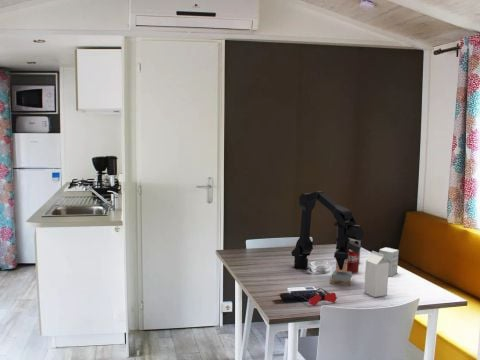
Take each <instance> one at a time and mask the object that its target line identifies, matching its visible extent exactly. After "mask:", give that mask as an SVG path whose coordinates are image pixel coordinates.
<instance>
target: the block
mask: <svg viewBox="0 0 480 360" xmlns="http://www.w3.org/2000/svg"><path fill="white" fill-rule="evenodd" d="M335 261H336V260H335ZM335 270H336V271H338V272H347V261H344V265H343V269H342V270H340V269H339V266H338V263H337V261H336V262H335Z"/></svg>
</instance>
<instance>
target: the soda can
mask: <svg viewBox="0 0 480 360" xmlns="http://www.w3.org/2000/svg"><path fill="white" fill-rule="evenodd" d="M345 261H347V271H348V272H352V275H356V274H358V273H359V268H360V261H359V253H355V252H354V251H351V250H349V253H348V259H346V260H345Z"/></svg>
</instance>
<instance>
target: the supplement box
mask: <svg viewBox="0 0 480 360" xmlns="http://www.w3.org/2000/svg"><path fill="white" fill-rule="evenodd" d="M399 252H400V251H399V249H395V248H391V247H386V246H385V247H383V248H380V249H379V250H378V253H380V254H383V256H384V258H385V259H386V260H387V261H388V262H389V269H388V277H393V276H395V275H397V274H398V266H399V265H398V264H399Z"/></svg>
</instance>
